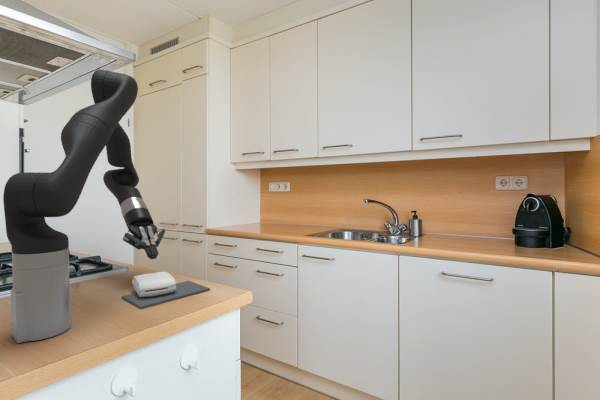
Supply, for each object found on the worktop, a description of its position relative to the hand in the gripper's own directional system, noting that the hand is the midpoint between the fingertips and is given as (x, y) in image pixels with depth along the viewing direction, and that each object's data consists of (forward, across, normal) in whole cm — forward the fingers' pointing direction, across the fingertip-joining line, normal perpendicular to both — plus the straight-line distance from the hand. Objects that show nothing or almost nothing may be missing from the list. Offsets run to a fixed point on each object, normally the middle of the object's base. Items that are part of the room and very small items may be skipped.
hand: (154, 257), depth 97 cm
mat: (+12, 0, +1) cm, 12 cm away
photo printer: (+4, 0, +6) cm, 7 cm away
